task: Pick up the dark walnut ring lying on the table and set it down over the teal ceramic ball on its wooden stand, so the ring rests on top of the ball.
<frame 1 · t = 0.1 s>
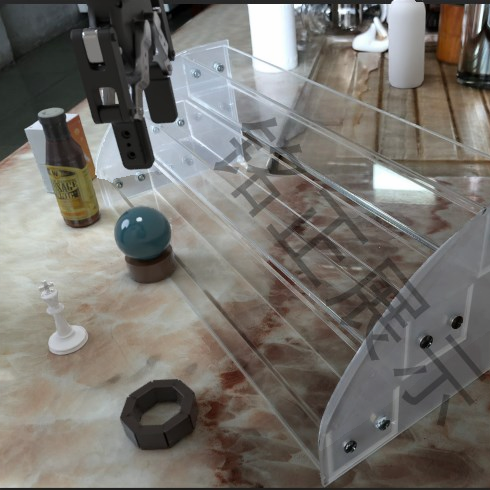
hand: (153, 142, 47), 33 cm above the worktop, tool pointing down, fingers open, 8 cm apart
sauce bottle: (84, 220, 104), on the worktop
small box: (73, 184, 116), on the worktop
chess piece: (69, 342, 78), on the worktop
walnut ring: (162, 420, 66), on the worktop
white plastic bottle: (406, 84, 151), on the worktop
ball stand: (153, 269, 90), on the worktop
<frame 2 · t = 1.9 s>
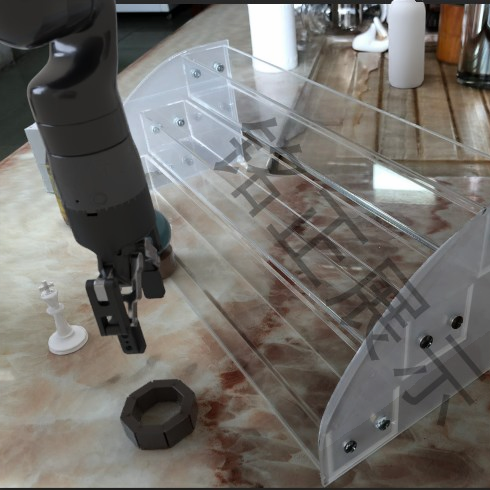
hand: (146, 322, 62), 12 cm above the worktop, tool pointing down, fingers open, 8 cm apart
nothing on the worktop moved.
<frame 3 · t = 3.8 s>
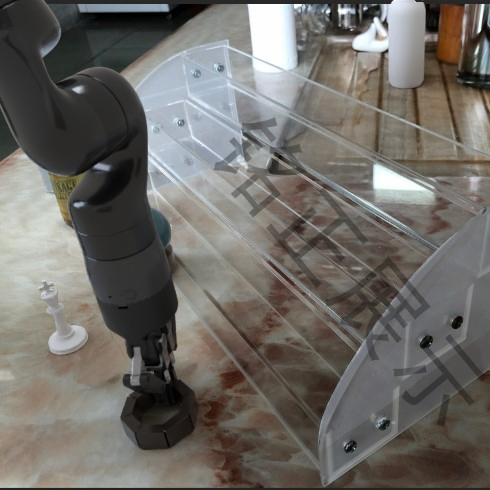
hand: (168, 396, 68), 0 cm above the worktop, tool pointing down, fingers closed on walnut ring, 1 cm apart
walnut ring: (162, 420, 66), on the worktop, touching gripper
everything else where it was.
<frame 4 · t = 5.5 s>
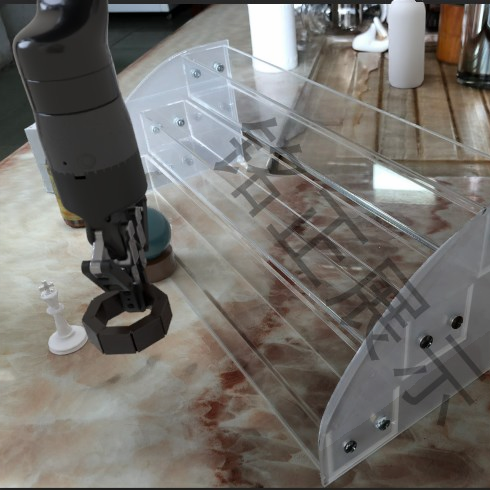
hand: (139, 304, 61), 14 cm above the worktop, tool pointing down, fingers closed on walnut ring, 1 cm apart
walnut ring: (131, 326, 58), point 14 cm above the worktop, touching gripper
everything else where it was.
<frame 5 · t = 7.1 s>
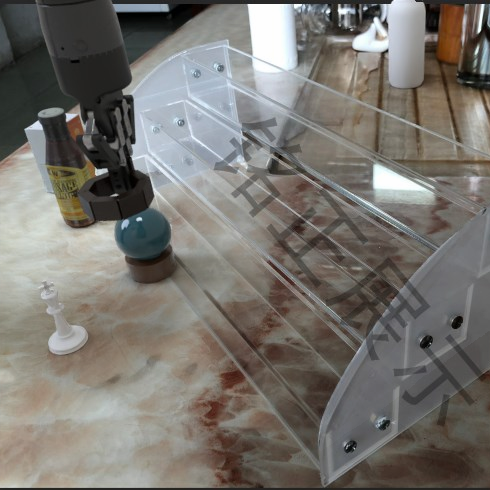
hand: (126, 189, 72), 19 cm above the worktop, tool pointing down, fingers closed on walnut ring, 1 cm apart
walnut ring: (119, 203, 69), point 19 cm above the worktop, touching gripper
everything else where it was.
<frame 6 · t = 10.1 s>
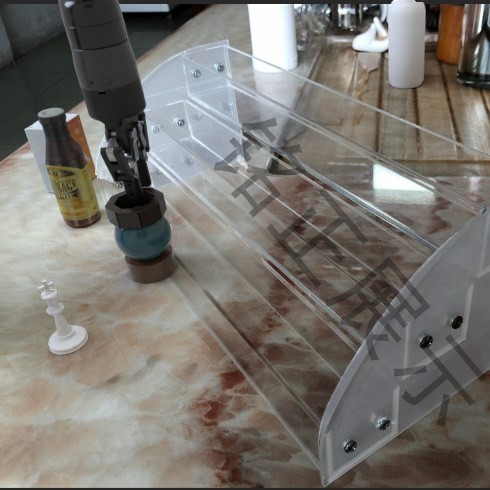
hand: (140, 192, 87), 11 cm above the worktop, tool pointing down, fingers open, 4 cm apart
walnut ring: (138, 215, 85), point 10 cm above the worktop, touching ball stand
everything else where it was.
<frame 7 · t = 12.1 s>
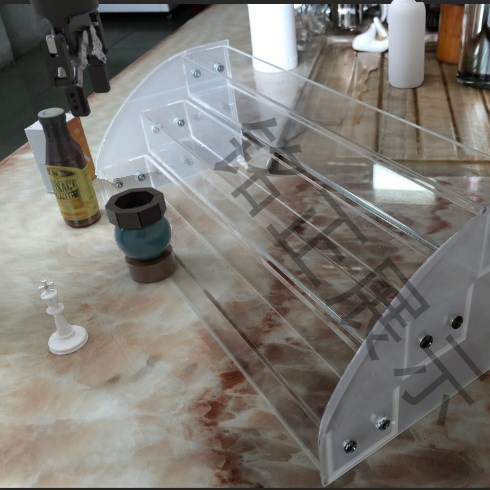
hand: (93, 103, 78), 25 cm above the worktop, tool pointing down, fingers open, 8 cm apart
nothing on the worktop moved.
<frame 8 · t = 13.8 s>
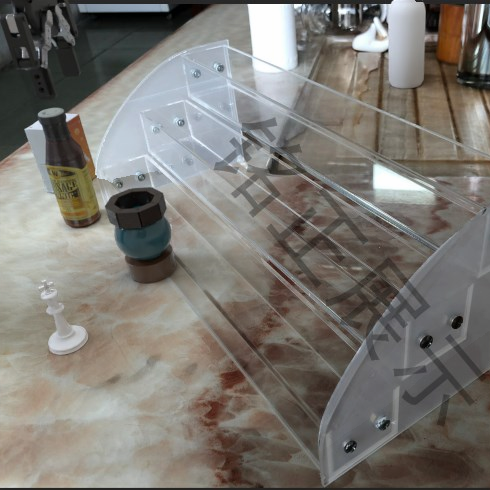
hand: (61, 86, 76), 28 cm above the worktop, tool pointing down, fingers open, 8 cm apart
nothing on the worktop moved.
at the end: walnut ring 0.1 cm off-centre on the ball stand, point 9.5 cm above the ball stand's base; walnut ring touching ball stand; walnut ring tilted 2° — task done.
